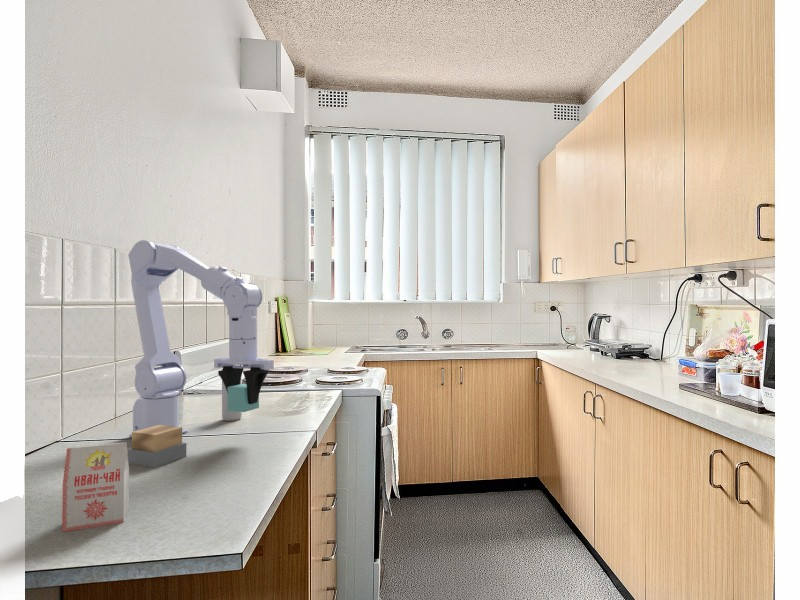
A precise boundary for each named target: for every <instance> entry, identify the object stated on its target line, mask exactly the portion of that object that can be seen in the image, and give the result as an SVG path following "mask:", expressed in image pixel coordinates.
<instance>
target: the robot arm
mask: <svg viewBox="0 0 800 600" xmlns="http://www.w3.org/2000/svg"><path fill="white" fill-rule="evenodd" d="M127 255H128V260H129V266H130V272H131V276H130V278H131V279H130V282H131V289H132V295H133V301H134V306H135V311H136V318H137V324H138V329H139V334H140V340H141V346H142V351H143V357H142V358H141V359H140V360H139V361H138V362H137V363H136V364H135V366H134V369H135V378H134V388H135V390H136V392H137V394H138V395H140V397H138V398H137V399H136V400H135V402H134V404H133V407H132V432H134V431H138V430H142V429H146V428H149V427H153V426H157V425H165V426H175V427H180V423H179V417H180V413H179V412H180V411H179V410H180V408H179V407H180V405H179V402H180V401H179V400H180V399H179V398H180V396H179V394H181V393H182V390H183V388H184V387H185V385H186V383H187V373H186V370H185V369H184V367H183V365H182V362H181V358H180V357H179V356H177V355H176V354H175V353H174V352H173V351H171V347H170V341H169V335H168V330H167V324H166V320H165V313H164V309H163V303H162V297H161V291H160V286H161V284H162V283H163V282H166V280H167V279H169V278H170V277H171V276H173V274H174V273H176V272H177V271H178V270H180V271H183V272H184V273H187V274H189V275H190V276H192V277H194V278H196V279H198V280H199V281H200V284H201V287H202V289H204V290H206V292H207V291H208V292H209V293H210V294H212V295H213V296H215V297H217V298H219V299H221V300H222V302H223V304H224V306H225V307H226V309H227V316H228V321H229V322H228V326H229V327H228V331H229V332H228V335H229V337H228V341H229V342H228V350H229V351H228V357H229V358H228V357H227V358H226V357H225V358H224V357H223V358H222V357H220V358H214V360H213V367H214V368H216V369H221V368H222V369H221V370H218V371H217V375H218V376H219V377H220V379H221V382H222V381H223V383H224V385H225V387H226V390H227V394H228V387H229V386H234V385H239V384H240V381H241V382H242V375H243V376H244V380H245V384H247V398H248V403H249V404H253V403H257V401H258V397H259V398H260V393H261V389H262V386H263V385H264V384H263V383H264V381H265V379H266V378H267V375H268V374H269V370H274V366H275V364H274V363H275V360H274V359H264V358H259V357H258V308H259V307H260V306H261V304H262V301H263V293H262V290H261V288H260V287H258V285H256V284H255V283H252V282H249V283H245V282H244V278H242V277H241V276H235V275H233V274H231V273H229V272H228V268H227V267H225V266H220V265H219V266H212V267H209V266H208V265H206V264H205V263H203V262H201V261H200V260H199V259H197V258H196V257H194V256H193V255H191V254H190V253H188V252H187V251H186V250H185V249H183V248H179V247H178V246H177V245H173V244H171V245H169V244H164V243H163V244H162V243H157V242H152V241H149V240H147V239H146V240H144V239H142V240H139V241H137V242H136V243H134V244H133V246H132V248H131V250H130V251H129V252H128V254H127ZM244 369H246V370H244ZM247 369H248V370H247ZM188 431H189V430H188V429H184V428H182V434H184V433H188ZM128 437H129V438H130V437H131V438H132V433H130V434H129V435H128Z"/></svg>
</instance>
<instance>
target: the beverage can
mask: <svg viewBox="0 0 800 600" xmlns="http://www.w3.org/2000/svg"><path fill="white" fill-rule="evenodd" d="M240 384H242V380H241V381H240ZM242 415H243V412H238V411H228V394H227V390H226V387H225V385H224V383H223V381H222V380H221V418H222V420H223V421H225V422H234V421H239V420H240V419H241V418H242Z"/></svg>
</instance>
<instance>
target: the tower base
mask: <svg viewBox="0 0 800 600" xmlns="http://www.w3.org/2000/svg"><path fill="white" fill-rule="evenodd" d="M127 454H128V464H129V465H135V466H141V467H145V468H146V467H148V468H152V469H155V468H158V467H161V466H163V465H167V464H170V463H172V462H175V461H178V460H181V459H183V458H186V457H187V442H183V441H182V443H181V444H178V445H174V446H171V447H168V448H165V449H162V450H159V451H156V452H154V451H147V450H140V449H133V448H132V447H130V448H127Z"/></svg>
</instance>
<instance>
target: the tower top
mask: <svg viewBox="0 0 800 600" xmlns="http://www.w3.org/2000/svg"><path fill="white" fill-rule="evenodd" d="M182 429H183V426H179V427H175V426H165V425H157V426H153V427H149V428H146V429H142V430H138V431H134V432H133V431H132V432H131V434H132V437H131V448H133V449H140V450H147V451H154V452H156V451H159V450H162V449H165V448H168V447H171V446H174V445H178V444H181V443H182V442H183V433H182Z"/></svg>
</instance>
